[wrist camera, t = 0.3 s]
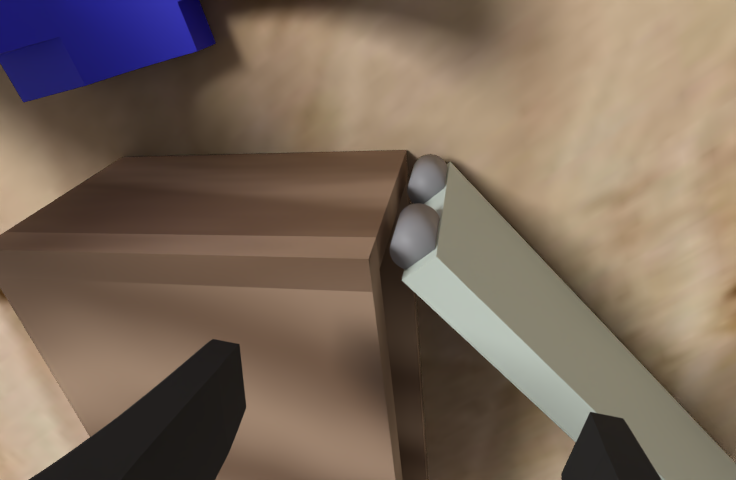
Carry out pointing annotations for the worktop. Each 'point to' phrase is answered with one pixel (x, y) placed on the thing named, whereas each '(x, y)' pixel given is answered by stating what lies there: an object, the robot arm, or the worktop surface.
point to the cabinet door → (536, 323)
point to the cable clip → (93, 40)
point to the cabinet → (237, 301)
